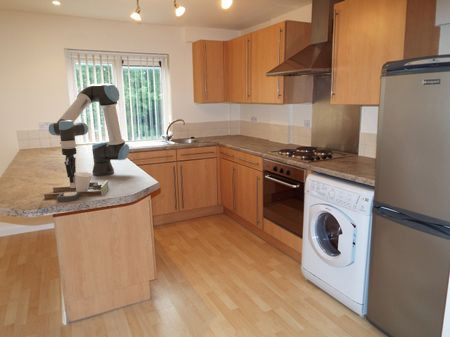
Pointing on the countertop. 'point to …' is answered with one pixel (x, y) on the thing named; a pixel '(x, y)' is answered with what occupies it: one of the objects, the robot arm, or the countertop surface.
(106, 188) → the stop block
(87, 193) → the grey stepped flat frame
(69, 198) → the trap bays
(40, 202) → the countertop surface
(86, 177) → the cup
